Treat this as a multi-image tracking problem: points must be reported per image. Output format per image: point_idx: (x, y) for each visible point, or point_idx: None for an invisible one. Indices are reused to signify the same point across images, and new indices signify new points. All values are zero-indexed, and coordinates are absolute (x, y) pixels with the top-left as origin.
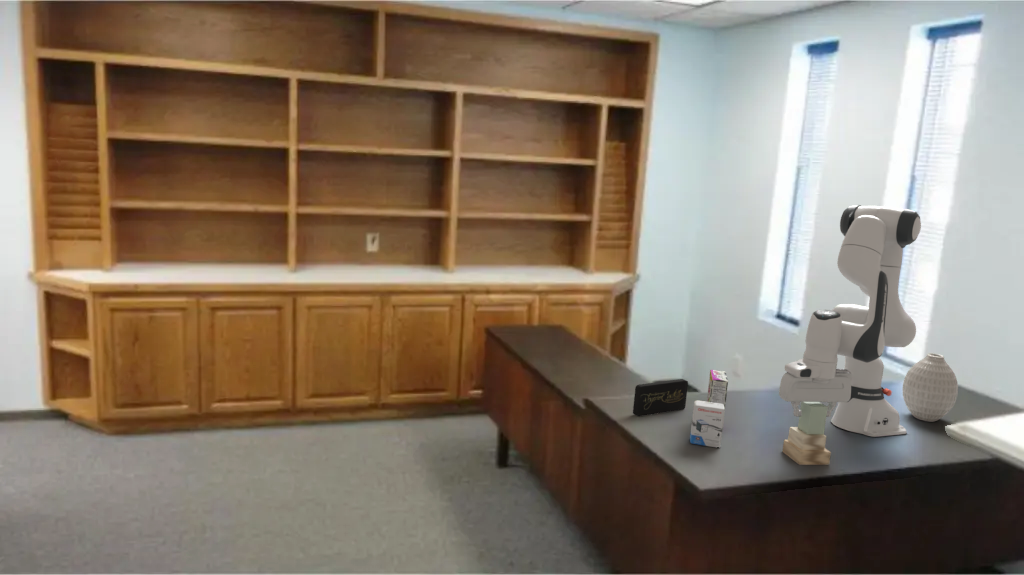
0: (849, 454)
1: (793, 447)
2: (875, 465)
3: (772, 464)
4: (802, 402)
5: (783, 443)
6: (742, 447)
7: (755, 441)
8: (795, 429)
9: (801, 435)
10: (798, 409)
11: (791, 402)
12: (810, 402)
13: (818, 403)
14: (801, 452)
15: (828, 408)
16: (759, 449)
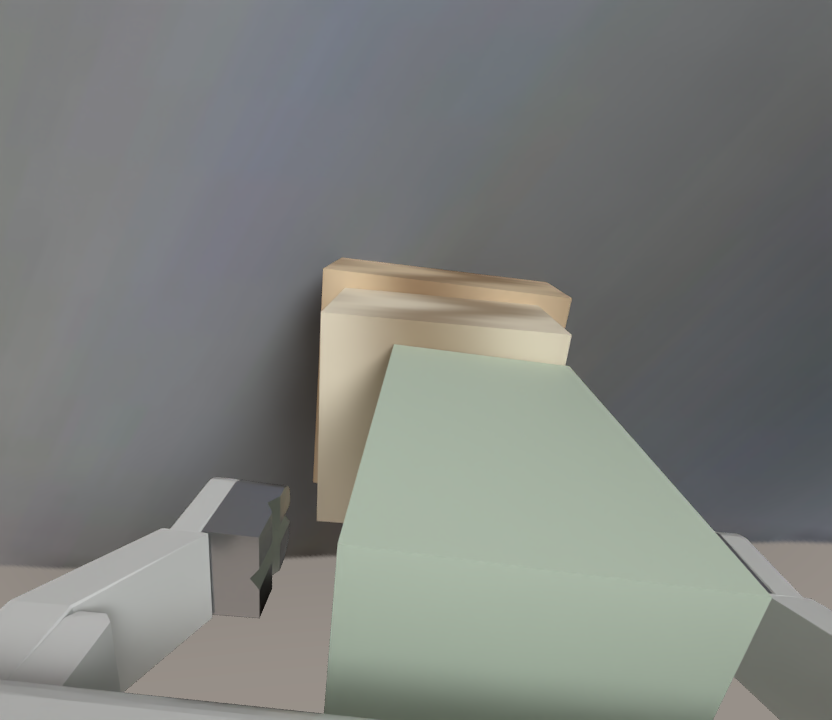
0: (776, 355)
1: (318, 397)
2: (775, 502)
3: (172, 418)
4: (339, 569)
5: (330, 264)
6: (84, 153)
7: (238, 42)
8: (339, 379)
9: (319, 488)
10: (174, 638)
11: (3, 621)
12: (491, 650)
13: (628, 716)
14: (317, 480)
15: (781, 660)
16: (196, 203)
